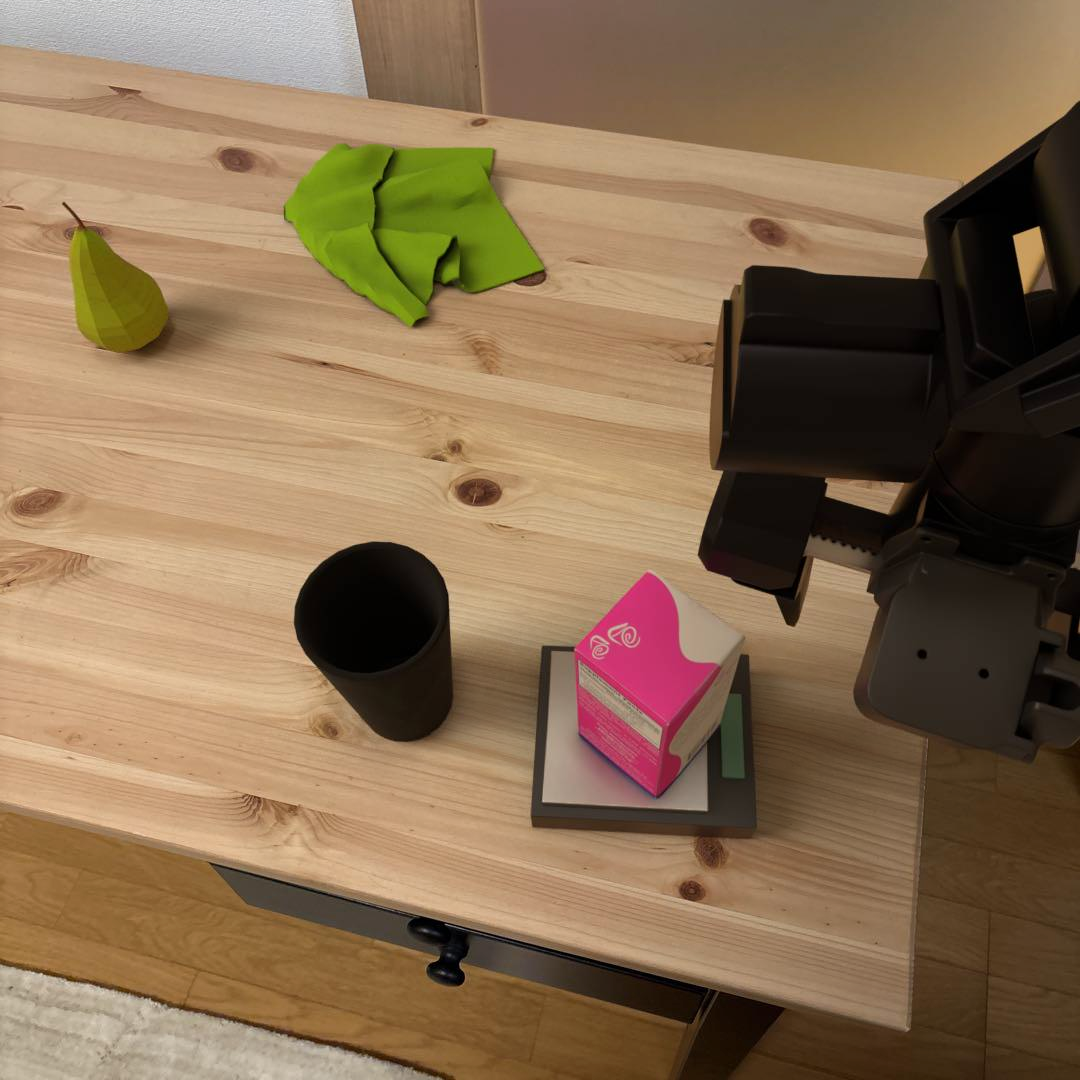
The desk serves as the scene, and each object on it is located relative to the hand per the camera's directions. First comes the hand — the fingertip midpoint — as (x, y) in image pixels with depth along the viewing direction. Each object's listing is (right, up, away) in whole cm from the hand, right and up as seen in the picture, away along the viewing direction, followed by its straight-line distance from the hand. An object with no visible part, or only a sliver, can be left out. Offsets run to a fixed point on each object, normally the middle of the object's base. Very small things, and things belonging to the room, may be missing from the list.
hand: (890, 648), depth 46 cm
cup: (-24, -4, +14) cm, 28 cm away
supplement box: (-10, -5, +9) cm, 15 cm away
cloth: (-26, +30, +33) cm, 52 cm away
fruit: (-46, +20, +29) cm, 58 cm away
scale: (-10, -7, +11) cm, 17 cm away
